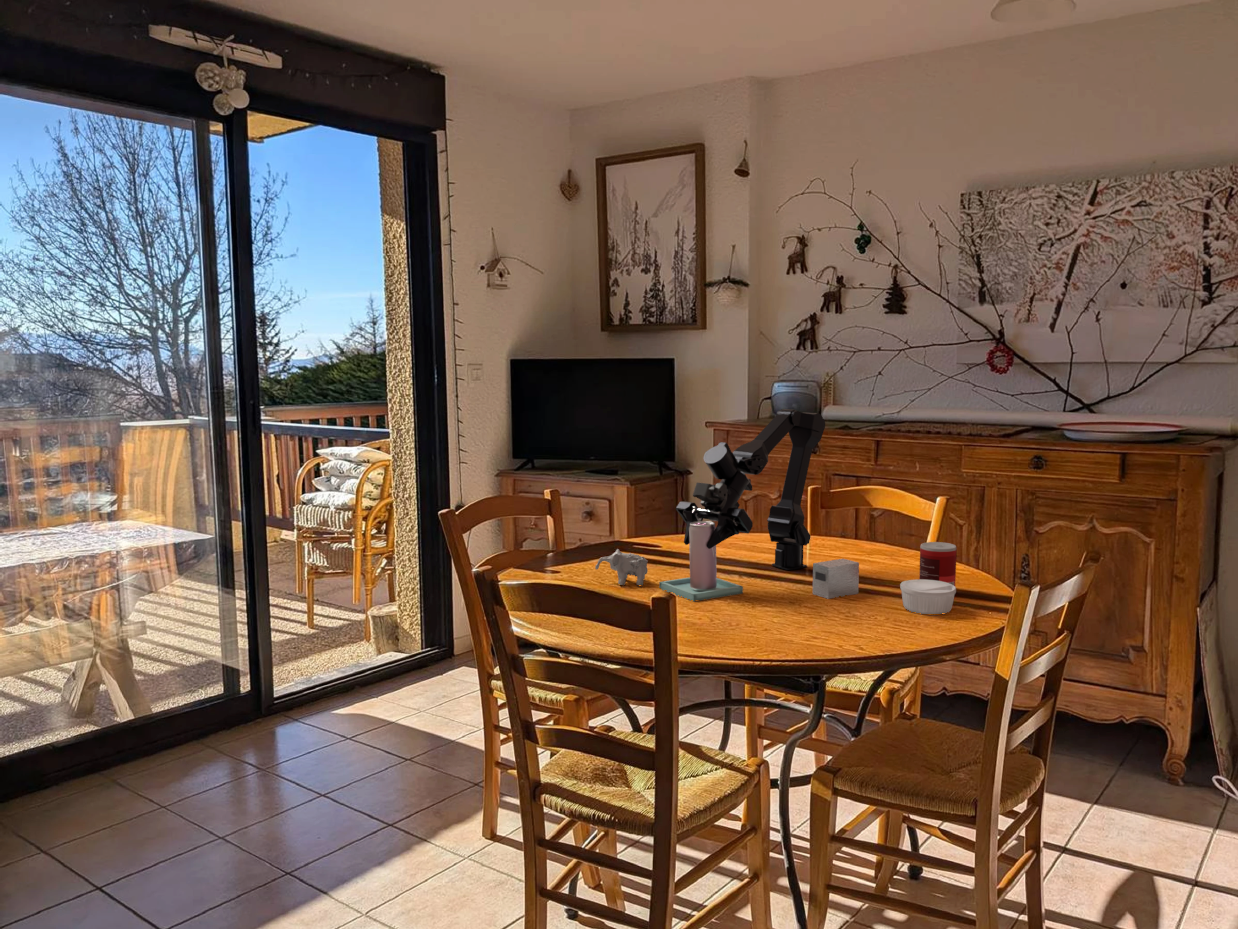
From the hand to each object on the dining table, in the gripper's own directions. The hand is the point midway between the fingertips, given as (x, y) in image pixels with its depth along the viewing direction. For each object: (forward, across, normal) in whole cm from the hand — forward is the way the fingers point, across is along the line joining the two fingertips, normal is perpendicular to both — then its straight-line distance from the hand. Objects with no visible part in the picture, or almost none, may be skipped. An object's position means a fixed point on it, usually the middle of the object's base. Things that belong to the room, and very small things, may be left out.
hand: (696, 545), depth 221 cm
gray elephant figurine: (+11, -18, +5) cm, 22 cm away
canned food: (-18, +40, +33) cm, 55 cm away
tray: (+6, 0, +9) cm, 11 cm away
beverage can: (+6, 0, +9) cm, 10 cm away
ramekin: (-8, +44, +24) cm, 51 cm away
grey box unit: (-8, +23, +22) cm, 33 cm away
